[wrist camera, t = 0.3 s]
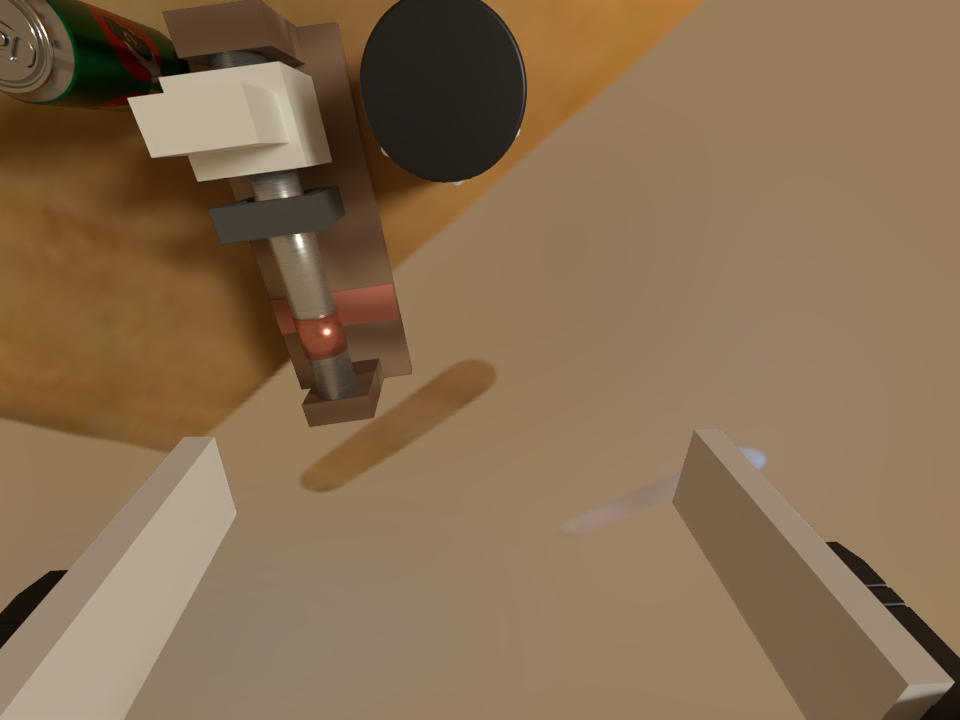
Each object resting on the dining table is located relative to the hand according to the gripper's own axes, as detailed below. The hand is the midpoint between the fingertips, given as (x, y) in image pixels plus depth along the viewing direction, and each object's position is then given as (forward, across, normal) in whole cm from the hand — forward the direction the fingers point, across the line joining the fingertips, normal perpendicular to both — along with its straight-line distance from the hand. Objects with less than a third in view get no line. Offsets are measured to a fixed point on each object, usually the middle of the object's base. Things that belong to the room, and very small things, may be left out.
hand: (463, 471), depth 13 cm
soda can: (+27, -20, +12) cm, 36 cm away
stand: (+27, -10, +1) cm, 29 cm away
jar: (+27, 0, +10) cm, 29 cm away
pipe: (+23, -11, +1) cm, 25 cm away
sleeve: (+24, -12, +9) cm, 28 cm away
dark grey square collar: (+24, -11, +4) cm, 27 cm away
